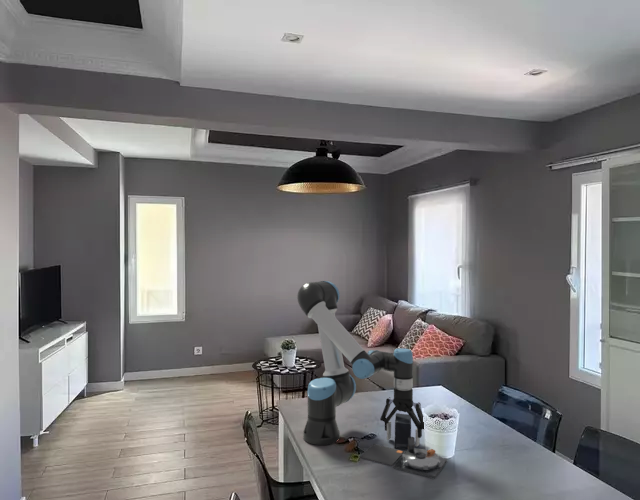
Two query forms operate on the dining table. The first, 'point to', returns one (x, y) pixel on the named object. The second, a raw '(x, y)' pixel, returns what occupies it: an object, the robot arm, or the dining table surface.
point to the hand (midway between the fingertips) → (402, 442)
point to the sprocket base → (426, 473)
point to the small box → (402, 430)
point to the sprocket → (420, 457)
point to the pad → (382, 454)
